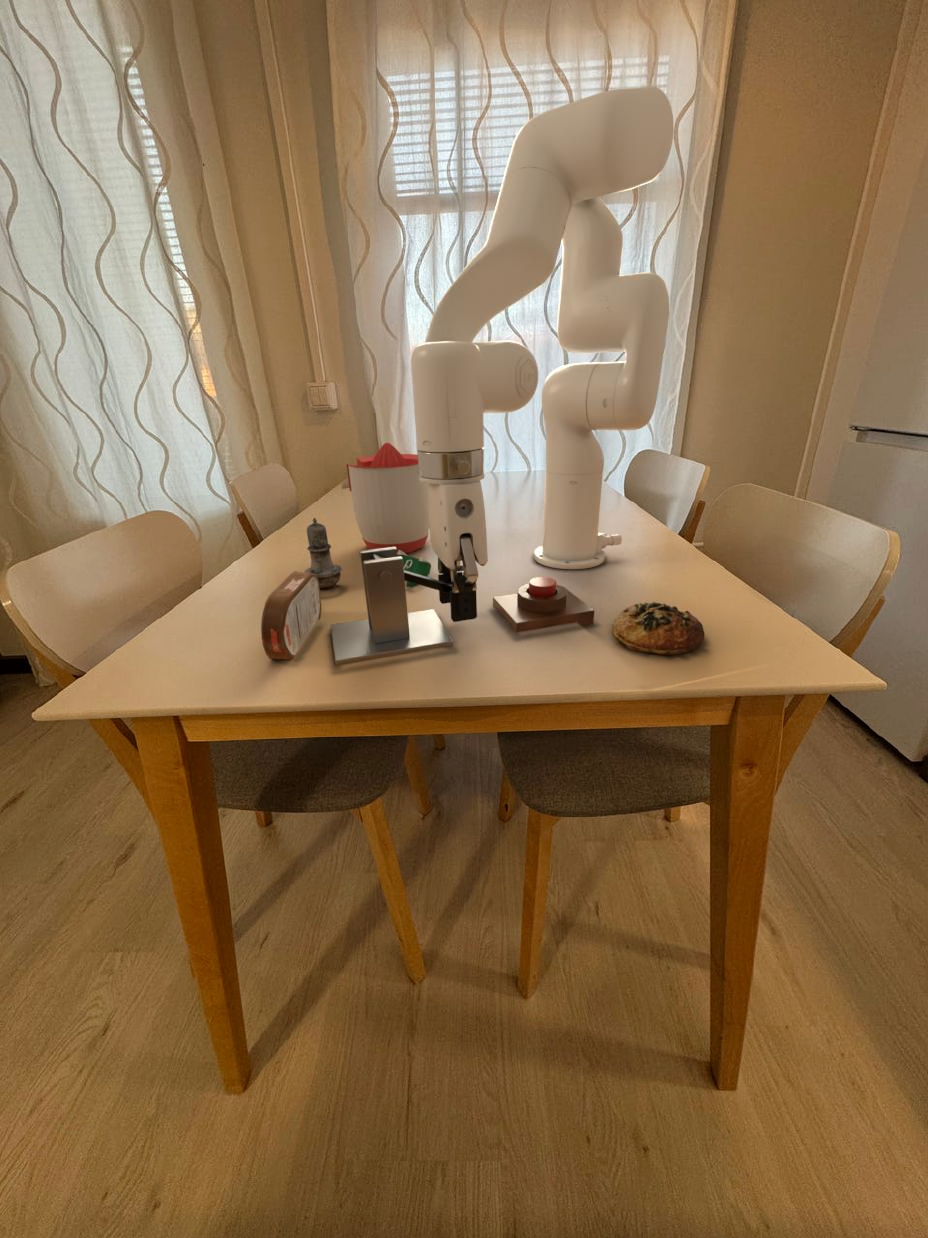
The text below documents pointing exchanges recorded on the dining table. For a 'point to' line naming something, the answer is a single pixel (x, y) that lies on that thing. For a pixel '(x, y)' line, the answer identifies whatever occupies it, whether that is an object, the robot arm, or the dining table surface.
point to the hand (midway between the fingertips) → (457, 608)
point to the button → (542, 587)
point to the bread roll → (658, 629)
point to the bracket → (386, 616)
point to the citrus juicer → (389, 500)
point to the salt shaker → (321, 557)
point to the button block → (542, 609)
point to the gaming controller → (415, 565)
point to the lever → (423, 579)
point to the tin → (290, 615)
